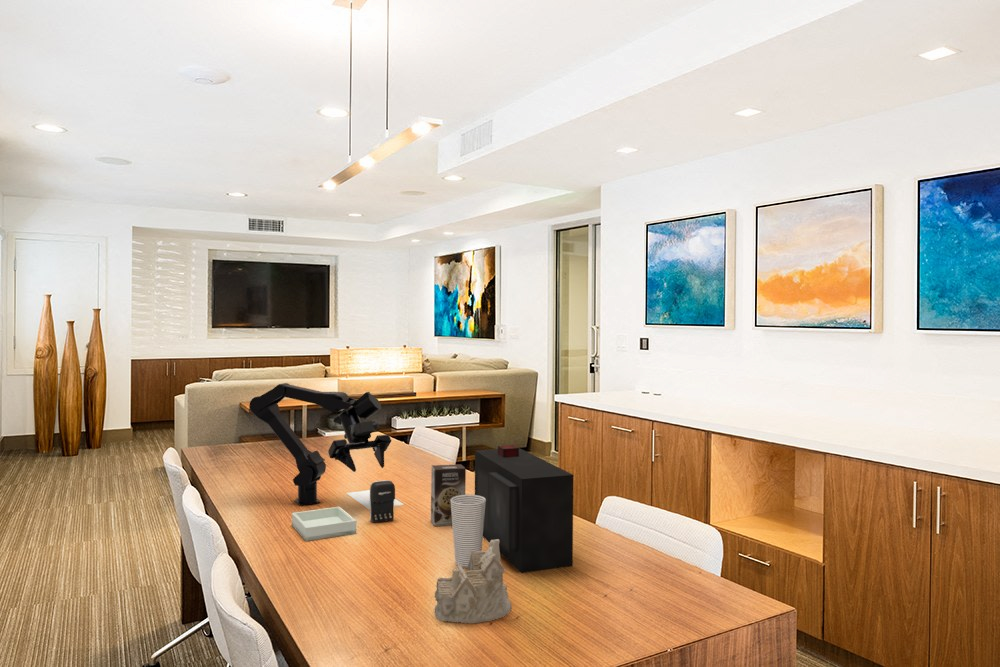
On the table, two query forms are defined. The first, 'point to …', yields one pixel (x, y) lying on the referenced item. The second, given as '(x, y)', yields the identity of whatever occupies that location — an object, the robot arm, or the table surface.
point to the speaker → (526, 508)
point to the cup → (467, 526)
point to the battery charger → (382, 501)
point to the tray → (323, 523)
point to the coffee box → (445, 491)
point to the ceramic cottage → (474, 590)
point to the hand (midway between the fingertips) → (369, 469)
